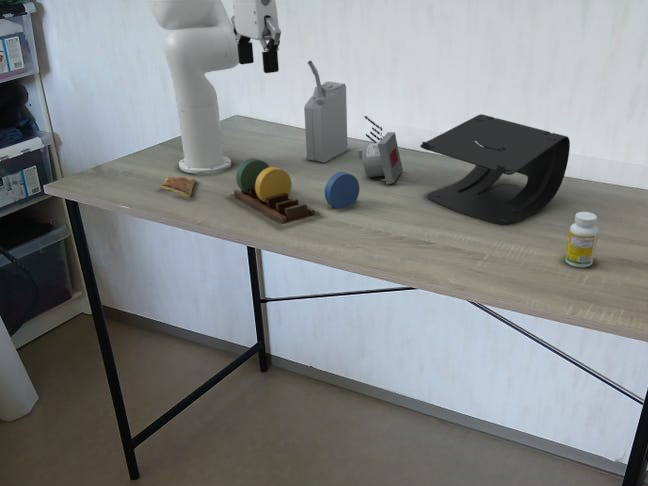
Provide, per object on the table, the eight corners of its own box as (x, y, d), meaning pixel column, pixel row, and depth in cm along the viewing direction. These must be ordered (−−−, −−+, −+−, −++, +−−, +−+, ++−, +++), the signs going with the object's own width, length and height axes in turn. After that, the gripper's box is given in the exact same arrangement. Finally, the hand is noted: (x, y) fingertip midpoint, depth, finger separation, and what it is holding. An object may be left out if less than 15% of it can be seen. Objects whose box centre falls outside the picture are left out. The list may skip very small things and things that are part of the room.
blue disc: (328, 213, 164) (321, 179, 159) (356, 198, 168) (350, 165, 163) (333, 215, 163) (326, 182, 158) (362, 201, 167) (356, 168, 162)
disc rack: (229, 198, 168) (227, 184, 167) (267, 188, 174) (266, 175, 172) (280, 228, 155) (279, 213, 153) (320, 217, 160) (319, 203, 159)
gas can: (318, 166, 188) (313, 62, 174) (301, 163, 190) (295, 59, 176) (348, 150, 200) (346, 51, 186) (332, 147, 201) (329, 48, 188)
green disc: (238, 196, 167) (234, 161, 163) (269, 189, 172) (266, 154, 167) (242, 199, 166) (238, 164, 161) (273, 191, 170) (270, 157, 166)
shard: (191, 200, 166) (190, 193, 165) (156, 201, 165) (154, 193, 164) (196, 183, 175) (195, 176, 174) (163, 184, 174) (162, 177, 173)
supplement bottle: (584, 270, 142) (591, 223, 137) (559, 262, 145) (566, 215, 140) (597, 261, 145) (605, 215, 140) (573, 253, 148) (580, 208, 143)
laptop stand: (566, 201, 172) (576, 134, 164) (504, 229, 157) (511, 157, 149) (480, 174, 186) (484, 111, 178) (415, 197, 172) (417, 130, 163)
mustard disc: (255, 205, 162) (254, 168, 158) (286, 200, 167) (286, 164, 163) (259, 207, 161) (259, 171, 157) (291, 202, 166) (292, 167, 162)
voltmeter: (414, 182, 180) (415, 142, 174) (370, 188, 176) (369, 146, 170) (375, 150, 200) (375, 112, 195) (335, 154, 196) (333, 116, 191)
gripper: (291, -22, 140) (297, 73, 150) (245, -31, 151) (253, 58, 160) (256, -20, 136) (264, 78, 145) (211, -30, 147) (221, 62, 156)
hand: (258, 67), depth 153 cm, fingers open, 9 cm apart
